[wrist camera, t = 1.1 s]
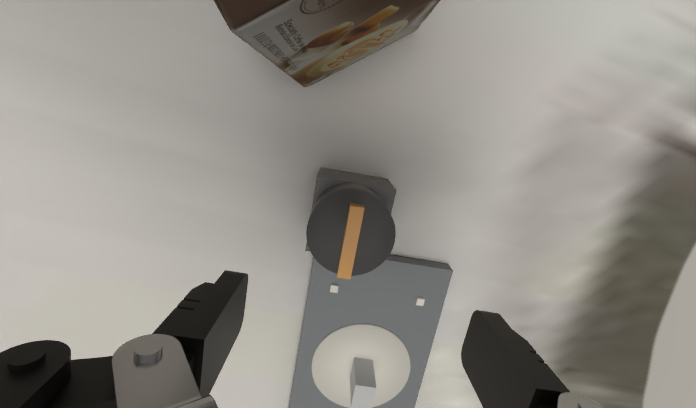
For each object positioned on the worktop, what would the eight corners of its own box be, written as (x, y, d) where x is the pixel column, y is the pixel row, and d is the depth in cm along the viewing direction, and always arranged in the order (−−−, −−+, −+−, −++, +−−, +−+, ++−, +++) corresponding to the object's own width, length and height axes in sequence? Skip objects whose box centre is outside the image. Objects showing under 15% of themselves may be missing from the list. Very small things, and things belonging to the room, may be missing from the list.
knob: (321, 167, 25) (312, 186, 18) (387, 179, 25) (406, 202, 18) (310, 231, 26) (299, 273, 19) (374, 241, 27) (386, 286, 19)
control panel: (316, 243, 27) (311, 266, 22) (447, 264, 27) (467, 290, 23) (288, 412, 31) (279, 459, 26) (403, 426, 31) (413, 475, 27)
